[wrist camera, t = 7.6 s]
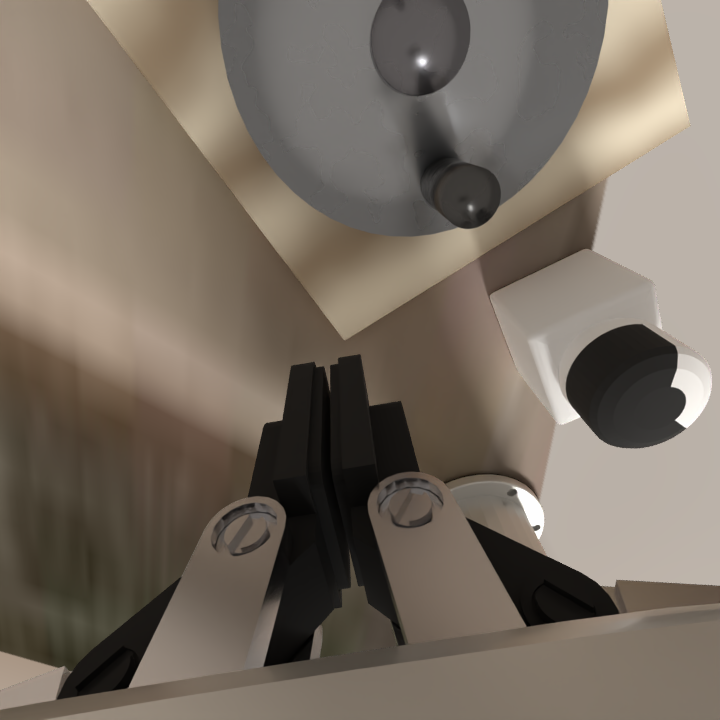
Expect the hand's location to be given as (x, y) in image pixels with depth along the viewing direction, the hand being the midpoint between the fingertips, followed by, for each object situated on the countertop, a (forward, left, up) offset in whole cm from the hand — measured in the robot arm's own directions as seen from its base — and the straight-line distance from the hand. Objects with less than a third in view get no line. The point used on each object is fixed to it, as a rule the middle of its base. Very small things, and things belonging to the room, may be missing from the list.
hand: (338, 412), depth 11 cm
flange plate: (+7, -9, -18) cm, 21 cm away
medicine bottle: (-13, -10, -20) cm, 26 cm away
